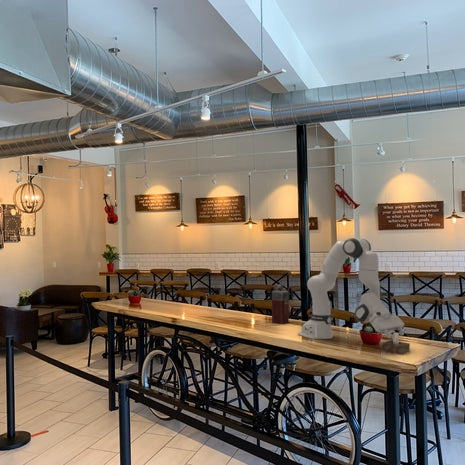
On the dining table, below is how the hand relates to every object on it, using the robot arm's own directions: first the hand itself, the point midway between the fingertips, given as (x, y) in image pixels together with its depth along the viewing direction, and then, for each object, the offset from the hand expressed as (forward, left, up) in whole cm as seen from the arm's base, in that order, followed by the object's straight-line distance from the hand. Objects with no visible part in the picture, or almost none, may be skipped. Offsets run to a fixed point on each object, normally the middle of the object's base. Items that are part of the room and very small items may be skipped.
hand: (396, 335), depth 245 cm
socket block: (-1, 0, -9) cm, 9 cm away
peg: (-1, 0, -9) cm, 9 cm away
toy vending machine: (-98, +17, -9) cm, 100 cm away
